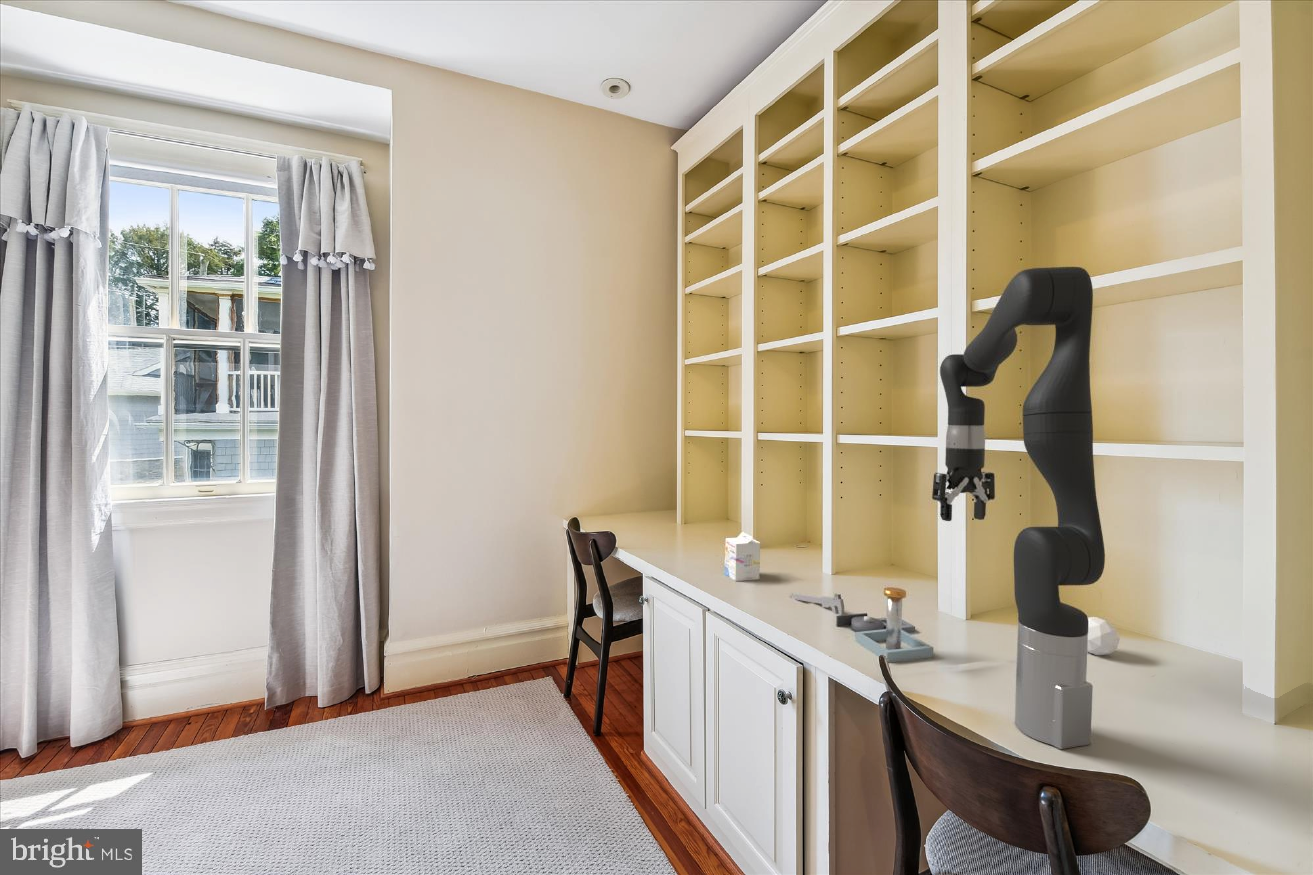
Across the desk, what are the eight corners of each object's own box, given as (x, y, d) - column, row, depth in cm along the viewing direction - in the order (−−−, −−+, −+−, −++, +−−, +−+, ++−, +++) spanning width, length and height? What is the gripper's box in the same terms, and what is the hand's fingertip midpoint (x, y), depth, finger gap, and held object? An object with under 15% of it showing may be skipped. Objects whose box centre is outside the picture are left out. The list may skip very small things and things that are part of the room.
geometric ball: (1103, 669, 120) (1110, 648, 116) (1063, 644, 126) (1068, 623, 122) (1123, 648, 123) (1131, 626, 118) (1083, 624, 129) (1089, 602, 124)
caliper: (844, 620, 142) (844, 595, 141) (841, 621, 141) (841, 596, 141) (791, 596, 160) (791, 574, 160) (788, 597, 159) (788, 574, 159)
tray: (933, 661, 117) (933, 647, 117) (886, 667, 115) (887, 652, 115) (898, 640, 128) (898, 627, 128) (855, 645, 125) (855, 632, 125)
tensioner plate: (919, 637, 130) (919, 620, 130) (857, 644, 126) (858, 626, 126) (893, 623, 139) (894, 607, 139) (835, 629, 135) (835, 612, 135)
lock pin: (908, 653, 120) (910, 592, 119) (890, 655, 119) (892, 594, 118) (895, 645, 124) (897, 586, 124) (877, 647, 123) (879, 587, 123)
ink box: (723, 574, 181) (724, 532, 181) (747, 572, 184) (748, 531, 183) (735, 581, 173) (736, 538, 172) (760, 579, 175) (760, 536, 175)
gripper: (950, 447, 118) (948, 524, 119) (1006, 446, 122) (1003, 521, 123) (925, 445, 126) (923, 518, 126) (978, 445, 129) (976, 515, 130)
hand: (962, 519), depth 124 cm, fingers open, 8 cm apart
